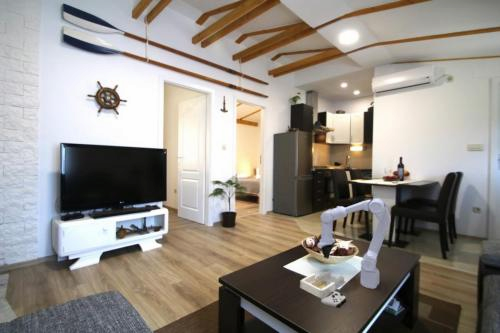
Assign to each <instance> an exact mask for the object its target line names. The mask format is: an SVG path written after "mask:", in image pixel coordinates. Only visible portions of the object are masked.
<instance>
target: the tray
mask: <svg viewBox="0 0 500 333" xmlns="http://www.w3.org/2000/svg"><path fill="white" fill-rule="evenodd" d="M315 279H316V274H315V273H312V274H310V275H307V276H306V277H304V278H302V279H301V280H300V281H299V288H300V289H302V290H303V291H306V292H307V293H309V294H311V295H313V296H315V297H317V298H319V299H320V300H322V299H323V298H326V297H328V296H330V295H331V294H332V292H333V291H336V290H335V283H334V282H332V283H330V284H329V285H327V286H326V287H324V288H322V289H320V288H318V287H316V286H314V285H312V283H314V282H315Z"/></svg>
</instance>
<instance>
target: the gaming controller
mask: <svg viewBox="0 0 500 333" xmlns="http://www.w3.org/2000/svg"><path fill="white" fill-rule="evenodd" d="M320 300H321V303H322V304H324V305H326V306H330V307H332V308H340V306H341V305H342V304H343V302H346V301H347V297H346V296H345V295H344V293H342V292H339V291H337V290H335V291H333V292H332V293H330V294H329V295H327V296H326V297H325V298H323V299H320Z"/></svg>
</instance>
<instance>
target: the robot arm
mask: <svg viewBox="0 0 500 333" xmlns="http://www.w3.org/2000/svg"><path fill="white" fill-rule="evenodd" d="M362 210H363V211H367V212H369V211H370V212H371V213H372V214H373V215H374V216H375V217H376V219H377V220H378V223H377V225H376V228H375V231H374V234H373V236H372V239H371V241H370V244H369V247H368V249H367V251H366V252H365V253H364V254H363V257H362V260H361V261H360V285H362V287H365V288H367V289H376V288H377V287H378V286H379V285H380V270H379V269H378V268H377V266H376V265H377V262H378V255H379V252H380V250H381V248H382V245H383V242H384V239H385V236H386V234H387V232H388V230H389V226H390V224H391V222H392V221H391V220H392V219H391V216H390V212H389V210H388V206H387V204H386V203H385V202H384V200H383V199H381V198H378V197H377V198H376V197H375V198H373V199H367V200H362V201H360V202H358V203H355V204H352V205H349V206H347V207H344V206H342V205H341V206H340V205H338V206H336V207H335V208H329V209H328V210H326V211H324V212H322V213H321V214H320V220H321V232H320V233H321V235H320V236H321V237H320V239H319V241H318V243H317V248H318V249H321V251H322V254H323V258H324V259H329V258H330V255H331V252H332V250H333V248H334V244H335V243H336V238H333V221H337V220H340V219H342V218H346V217H347V215H348V214H351V213H354V212H358V211H362Z"/></svg>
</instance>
